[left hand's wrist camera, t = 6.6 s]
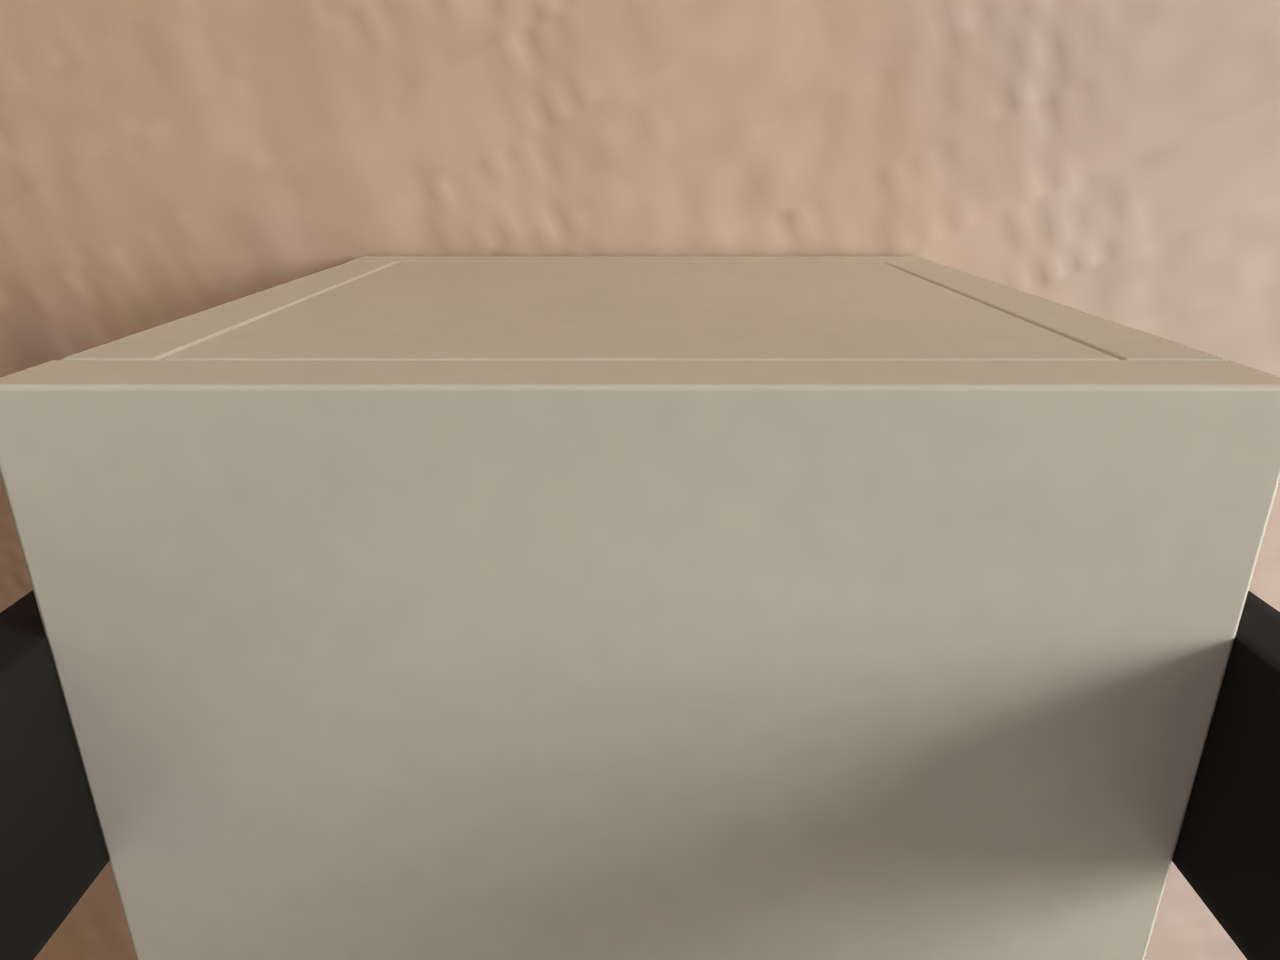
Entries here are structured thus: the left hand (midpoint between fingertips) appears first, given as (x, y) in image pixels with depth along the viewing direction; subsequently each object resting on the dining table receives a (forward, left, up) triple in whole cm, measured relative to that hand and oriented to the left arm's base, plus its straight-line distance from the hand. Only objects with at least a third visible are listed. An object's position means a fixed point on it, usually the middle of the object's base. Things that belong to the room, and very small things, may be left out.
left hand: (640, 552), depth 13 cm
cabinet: (+5, 0, -6) cm, 8 cm away
